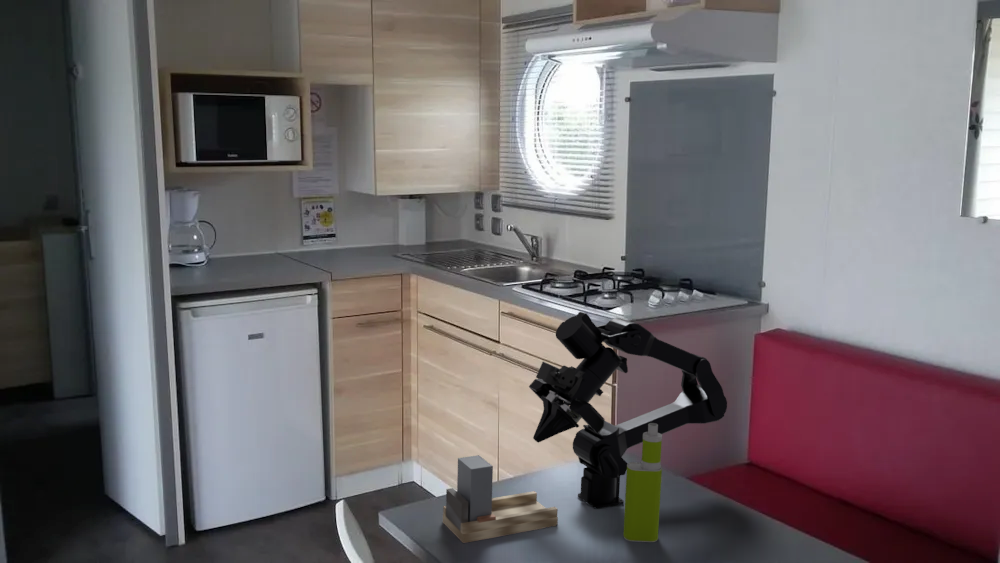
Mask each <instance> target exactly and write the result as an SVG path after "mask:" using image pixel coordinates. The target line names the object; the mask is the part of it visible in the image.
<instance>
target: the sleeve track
mask: <svg viewBox="0 0 1000 563" xmlns="http://www.w3.org/2000/svg"><path fill="white" fill-rule="evenodd" d="M537 500H538V493H537V492H536V491H533V490H532V491H525V492H521V493H516V494H510V495H503V496H497V497H492V515H486V516H480V517H477V521H471V522H468V501H466V500H465V499H464V498H463V497H462V496H461V495H460V494H459V493H458V492H457V489H455V488H453V487H451V488H446V498H445V502H446V503H445V504H446V505H444V506H443V509H442V523H443V524H444V525H445V526H446V528H448V529H449V530H450V532H452V534H454V535H455V536H456V537H457V539H458V540H460V542H461V543H462V544H466V543H472V542H477V541H483V540H488V539H493V538H498V537H502V536H503V537H504V536H508V535H509V536H510V535H515V534H519V533H526V532H530V531H536V530H541V529H546V527H547V528H552V527H557V526H556V525H558V523H559V522H558V521H559V518H558V511H559V510H558V508H557V507H556V506H551V507H545V506H544V505H542V504H541V503H540V502H539V501H537ZM551 526H552V527H551Z"/></svg>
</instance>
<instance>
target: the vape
mask: <svg viewBox="0 0 1000 563" xmlns="http://www.w3.org/2000/svg"><path fill="white" fill-rule="evenodd" d="M662 441H663V434H660V433H658V424H656V423H649V424H648V432H644V433H643V442H642V452H641V461H635V462H634V461H631V462H627V463H628V464H627V470H626V474H625V476H626V479H625V480H626V481H625V497H624V498H625V499H624V516H623V538H624V539H625V540H626V541H628V542H637V543H638V542H639V543H655V542H657V541H658V540H659V528H660V527H659V525H660V524H659V523H660V509H661V492H662V483H663V475H662V474H663V472H662V471H663V466H662V465H661V464H662V460H661V457H662V444H663V442H662Z"/></svg>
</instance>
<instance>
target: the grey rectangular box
mask: <svg viewBox="0 0 1000 563" xmlns="http://www.w3.org/2000/svg"><path fill="white" fill-rule="evenodd" d="M493 467H494V466H493V465H492V464H491V463H490V462H488V461H487V460H486V459H484V458H483V457H482V456H481V455H480V454H479V455H478V454H477V455H472V456H471V455H470V456H463V457H458V458H457V479H456V480H457V482H456V485H457V486H456V488H457V489H456V491H457V492H458V493H459V494H460V495H461V496H462V497H463V498H464V499H465V500H466V501H468V522H471V521H477V517H480V516H486V515H492V498H493V475H494V474H493V472H494V471H493V470H494V468H493Z"/></svg>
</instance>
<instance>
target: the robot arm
mask: <svg viewBox="0 0 1000 563" xmlns="http://www.w3.org/2000/svg"><path fill="white" fill-rule="evenodd" d="M555 337H556V339H557V341H559V342H560V343H561V344H562V346H564V348H565V349H566V350H567V351H568V352H569V354H571V355H572V356H573V357H574V358H575V360H581V361H580V363H579V364H578V365H577V366H576V367H574V366H569V367H568V366H566V365H562V366H561V367H560V368H559V367H557V366H554V365H552V364H549V363H547V362H545V361H542V363H541V365H540V367H539V369H538V371H537V373H536V376H535V379H534V380H533V381H532V382H531V383H530V385H529V386H528V387H529V389H530V390H531V391H532V392H533V393H534V394H535V395H536V396H537V397H538V398H539V399H540V400H541V401H542V404H543V412H542V414H541V418H539V419H540V420H539V422H538V425H537V427H536V429H535V432H534V435H533V437H532V438H533V440H534V441H535V442H536V443H538V444H539V443H541V442H543V441H546V440H548V439H549V438H552V437H554V436H557V435H558V434H561V433H563V432H566V431H569V430H571V429H574V428H576V429H577V428H579V427H580V425H579V424H578V423H579V421H580V420H583V421H584V422H585V424H583V425H582V427H583V428H582V429H580V430H578V431H576V433H575V436H574V438H573V441H572V450H573V453H574V454H575V455H576V457H577V458H578V461H579V463H580V464H581V465H584V466H585V467H583V474H582V475H583V476H581V478H580V492H579V493H578V494H577V498H579V499H581V500H582V501H584V502H585V503H586V504H587V505H589V506H590V507H592V508H593V509H601V508H605V507H606V508H607V507H613V506H619V505H622V504H625V499H624V500H623V499H622V498H621V497H620V489H621V488H620V484H621V476H626V474H627V464H628V463H629V462H627V461H626V460H625V459H624V458H623V456H624V455H625V453H626V451H627V450H629V449H630V448H632V447H634V446H636V445H639V444H643V433H644V432H648V424H649V423H656V424H658V433H660V434H662V435H663V434H667V433H668V432H670V431H673V430H675V429H678V428H681V427H683V426H685V425H689V424H690V425H691V424H694V425H698V424H700V425H701V424H704V425H705V424H710V423H714V422H718V421H720V420H721V419H723V418H724V417H725V414H726V412H727V409H728V401H727V400H728V399H727V398H726V396H725V394H724V390H723V387H722V384H720V382H719V380H718V379H717V377H716V376H715V373H714V372H713V369H712V366H711V363H710V361H709V360H708V359H707V358H706V357H704V356H701V355H698V354H695V353H693V352H692V353H691V352H689V351H686V350H684V349H682V348H679V347H678V346H675V345H673V344H669V343H668V342H666V341H664V340H661V339H658V338H657V337H656V336H654V334H653V333H652V332H651V331H649V330H648V329H647V328H645V327H644V326H642V324H640V323H636V322H633V321H630V320H628V319H624V318H621V317H613V318H612V319H610V320H608V322H607V323H604V324H600V325H596V324H595V323H594V322H593V321H592V319H591V317H590V316H589V315H588V314H587V313H586V312H583V311H579V312H578V313H577V314H576V315H573V316H571V317H569V318H567V319H566V320H565V321H562V322H561V323H560V324H559V325H558V327H557V329H556V330H555ZM603 343H604V344H605V345H606V346H605V345H604V344H603ZM614 349H615V350H617V351H619V352H620V351H621V352H622V353H626V354H628V355H632V356H633V355H634V356H638V357H648V358H649V357H650V358H652V359H655V360H658V361H659V362H662V363H664V364H667V365H669V366H672V367H674V368H677V369H679V370H681V374H682V376H681V377H682V378H681V382H680V383H681V384H680V386H681V390H682V391H681V392H680V393H679V395H678V396H677V398H676V399H675V401H673V402H672V403H669V404H667V405H664V406H663V405H662V406H661V407H658V408H656V409H654V410H652V411H648V412H645V413H643V414H641V415H639V416H636V417H634V418H631V419H628V420H626V421H624V422H621V423H618V424H616V425H614V424H612V423H610V422H608V421H606V419H605V417H604V416H602V414H600V412H599V411H598V410H597V409H596V408H595V406H593V405H592V404H591V403H590V402H591V400H592V399H593V398H594V397H595V395H596V396H599V397H601V396H602V394H603V393H604V391H603V390H602V389H601V388H602V387H603V385H604V384H605V383H607V381H608V380H609V379H610V377H611V376H612V375H613V374H614V373H615V372H616V370H617V371H619V372H621V373H624V374H627V373H628V372H629V369H628V362H627V361H628V358H627V357H625V356H623V355H618V353H617V352H616V351H615V350H614Z"/></svg>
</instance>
